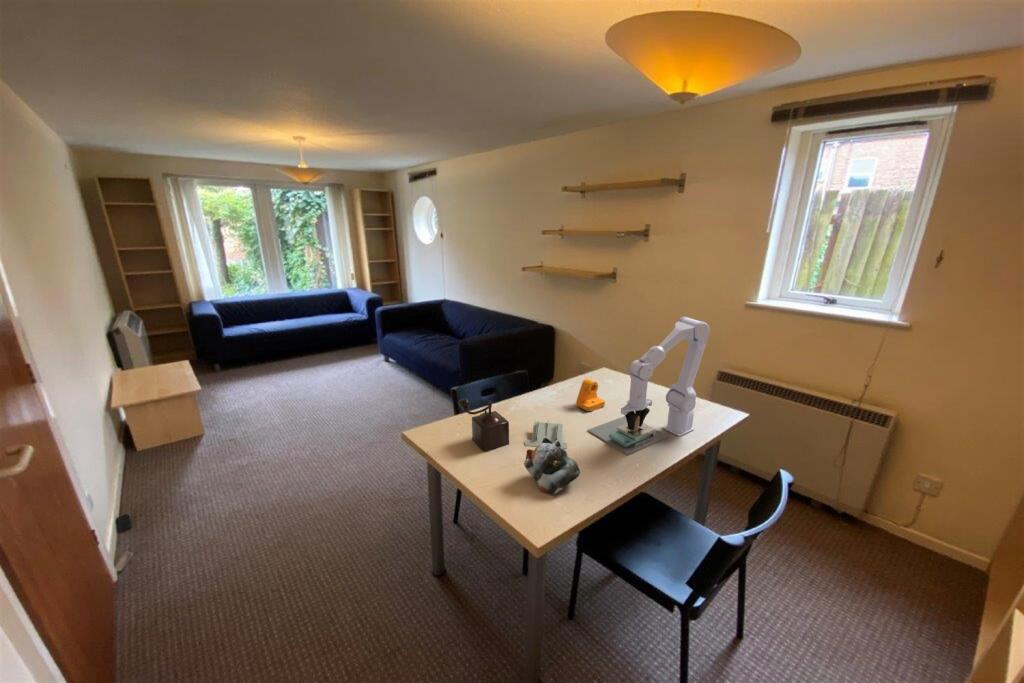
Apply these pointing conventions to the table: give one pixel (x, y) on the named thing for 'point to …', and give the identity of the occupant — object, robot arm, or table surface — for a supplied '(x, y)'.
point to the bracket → (589, 396)
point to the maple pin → (636, 425)
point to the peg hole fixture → (633, 435)
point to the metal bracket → (546, 434)
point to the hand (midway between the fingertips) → (634, 427)
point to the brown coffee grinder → (487, 427)
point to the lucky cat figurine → (551, 466)
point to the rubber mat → (611, 427)
